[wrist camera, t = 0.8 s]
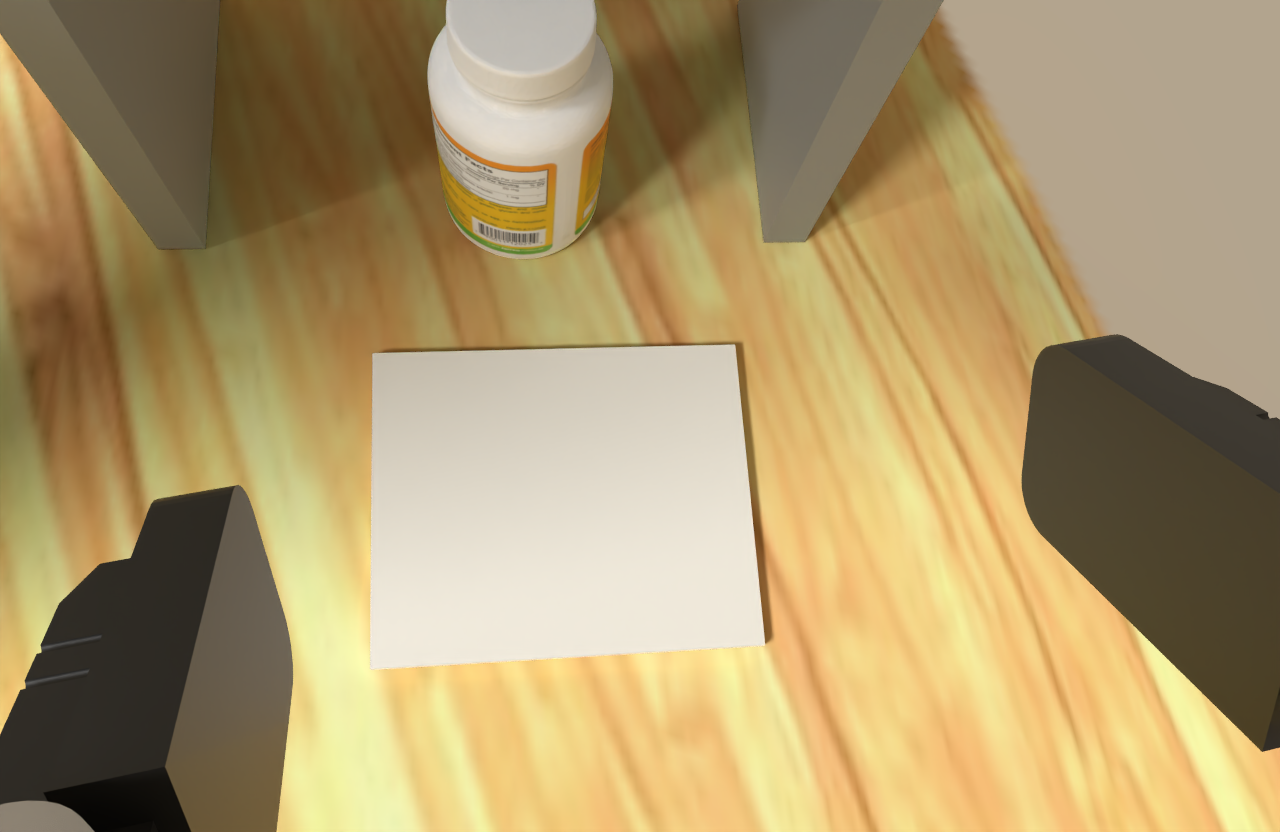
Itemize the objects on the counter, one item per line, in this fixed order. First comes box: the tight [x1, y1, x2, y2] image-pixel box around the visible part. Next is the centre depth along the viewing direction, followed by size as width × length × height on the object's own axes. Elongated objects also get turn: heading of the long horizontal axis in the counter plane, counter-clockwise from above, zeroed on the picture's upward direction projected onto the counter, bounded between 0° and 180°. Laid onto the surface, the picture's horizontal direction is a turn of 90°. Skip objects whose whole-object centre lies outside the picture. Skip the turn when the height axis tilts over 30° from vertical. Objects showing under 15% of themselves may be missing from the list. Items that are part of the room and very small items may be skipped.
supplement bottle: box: [427, 0, 613, 259], centre depth 32 cm, size 5×5×10 cm
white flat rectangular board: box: [370, 345, 765, 670], centre depth 33 cm, size 12×10×1 cm
